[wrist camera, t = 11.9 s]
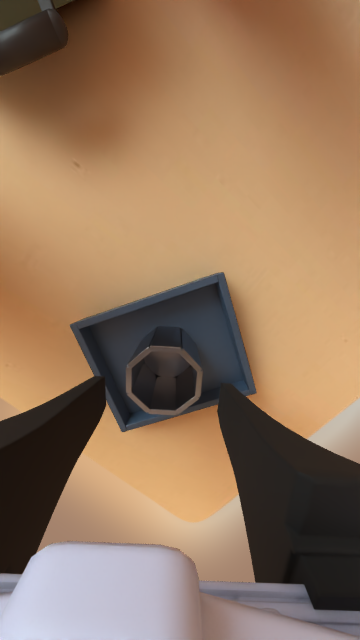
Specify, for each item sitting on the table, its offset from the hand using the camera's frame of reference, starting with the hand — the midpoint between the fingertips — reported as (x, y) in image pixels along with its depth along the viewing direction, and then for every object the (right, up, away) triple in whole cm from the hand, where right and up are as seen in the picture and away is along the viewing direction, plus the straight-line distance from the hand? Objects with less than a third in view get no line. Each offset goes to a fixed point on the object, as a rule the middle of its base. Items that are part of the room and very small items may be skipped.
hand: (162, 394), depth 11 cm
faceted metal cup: (0, +1, +6) cm, 6 cm away
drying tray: (0, +2, +7) cm, 7 cm away
